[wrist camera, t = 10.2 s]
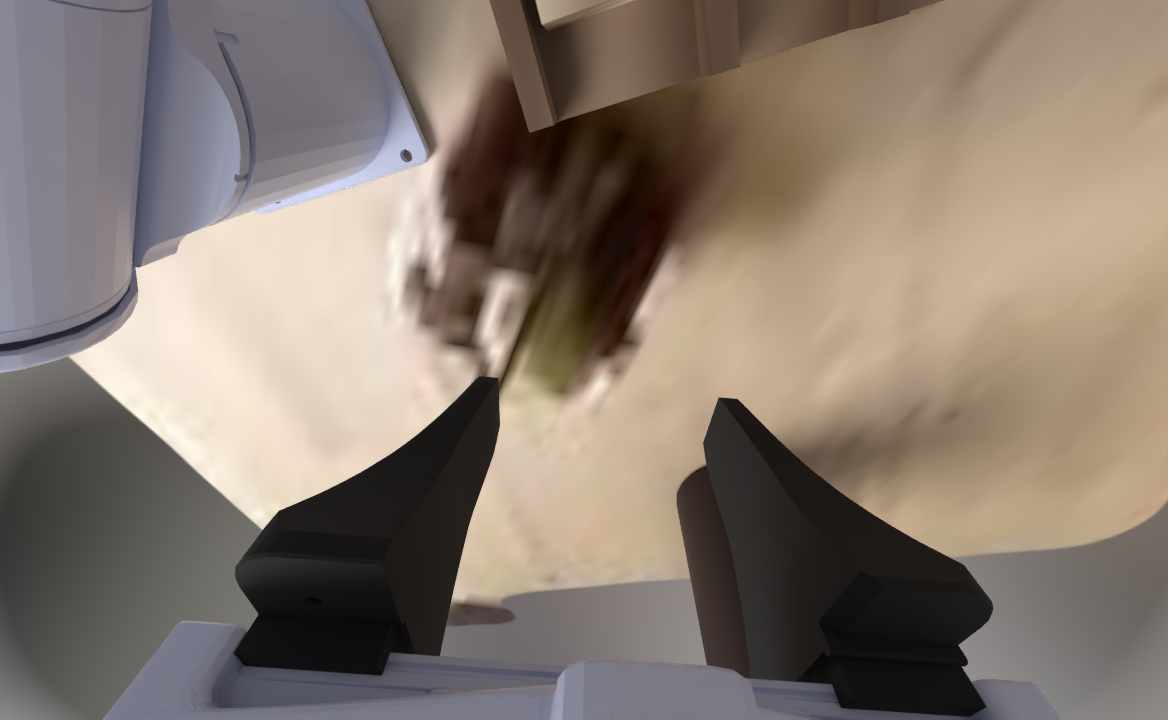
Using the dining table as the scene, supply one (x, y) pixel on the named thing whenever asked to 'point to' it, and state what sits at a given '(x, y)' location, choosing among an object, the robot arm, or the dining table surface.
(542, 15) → the offcut top
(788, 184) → the dining table surface
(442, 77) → the dining table surface
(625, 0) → the offcut low
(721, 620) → the bottle
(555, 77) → the rack
